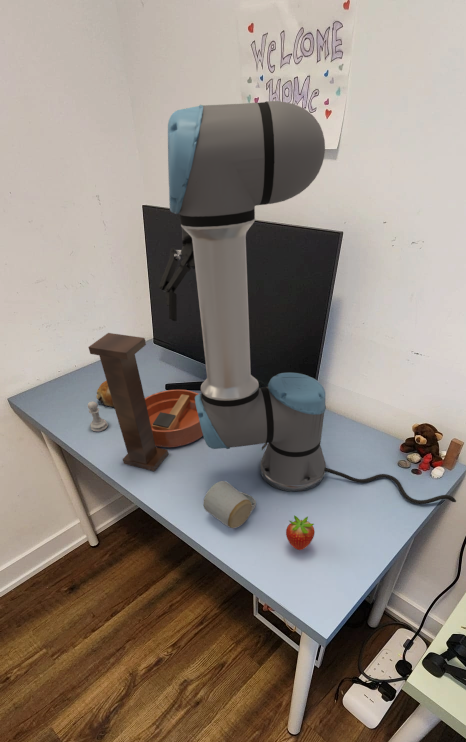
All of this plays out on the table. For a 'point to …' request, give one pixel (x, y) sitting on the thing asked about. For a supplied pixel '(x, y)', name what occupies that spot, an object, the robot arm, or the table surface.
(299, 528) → the fruit
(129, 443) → the stand
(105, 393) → the bread roll
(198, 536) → the table surface
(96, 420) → the chess piece
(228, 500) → the ceramic mug
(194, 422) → the bowl
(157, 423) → the hairbrush
